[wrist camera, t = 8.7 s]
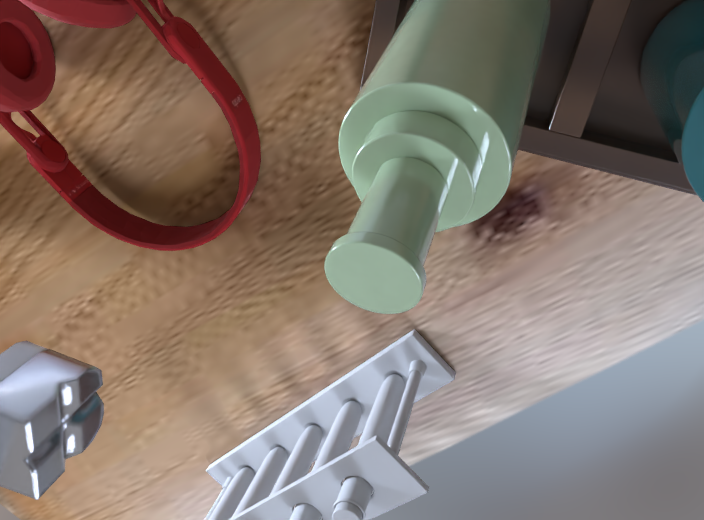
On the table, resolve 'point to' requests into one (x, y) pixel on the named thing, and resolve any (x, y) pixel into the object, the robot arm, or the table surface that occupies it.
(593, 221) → the table surface
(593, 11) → the rack
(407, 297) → the sage bottle
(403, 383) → the test tube rack
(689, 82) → the teal bottle
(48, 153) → the headphones
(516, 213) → the table surface
